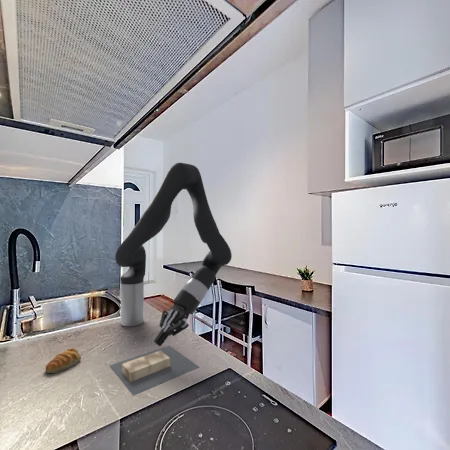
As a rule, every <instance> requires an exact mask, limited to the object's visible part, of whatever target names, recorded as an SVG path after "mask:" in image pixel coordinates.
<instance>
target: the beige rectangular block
mask: <svg viewBox="0 0 450 450" xmlns="http://www.w3.org/2000/svg"><path fill="white" fill-rule="evenodd" d="M167 367H170V358H169V357H168V356H167V355H166V354H164V353H163V352H162V351H158V352H155V353H152V354H149V355H146V356H143V357H140V358H137V359H134V360H131V361H128V362H126V363H123V364H122V373H123V374H124V375H125V377H126V378H127V379H128V380H129V381H130V382H132V381H134V380H137V379H139V378H142V377H144V376H147V375H149V374H152V373H154V372H157V371H159V370H162V369H164V368H167Z"/></svg>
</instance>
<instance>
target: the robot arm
mask: <svg viewBox="0 0 450 450" xmlns="http://www.w3.org/2000/svg"><path fill="white" fill-rule="evenodd" d="M183 190H186V191H187V193H188V195H189V196H190V199H191V202H192V209H193V221H194V225H195V228H196V231H197V232H198V235H199V237H200V240H201V241H202V243H204V244H206V245H207V247H208V249H209V251H208V252H207V254H206V255H205V256H204V258H203V260H202V261H201V264H200V265H199V267H198V268H196V270H195V272H194V273H193V274H192V276H191V278H190V279H189V280H188V281H187V282H186V283H185V284H184V286H183V287H182V289H181V290H180V291H179V292H178V293H177V295H176V296H175V298H174V299H173V302H174V304H173V305H172V306H171V307H170V309H169V310H166V309H164V310H163V311H162V313H161V316H160V317H161V318H160V321H159V327H160V331H159V333H158V334H157V335H156V337H155V338H154V340H153V342H154V343H155V345H157V346H158V347H162V345H163V344H164V343H165V341H166V340H167V339H168V337H170V336H173V337H174V336H176V335H178V334H180V333H181V332H182V331H184V330H186V329H187V328H188V327H189V325H190V324H189V323H188V319H189V316H190V315H193V314H194V313H195V311H196V310H197V309H198V307H199V306H200V305H201V303H202V301H203V300H204V298H205V297H206V295H207V293H208V291H209V290H210V288H211V287H212V286H213V284H214V282H215V280H216V277H217V276H216V275H217V274H218V272H219V271H220V270H221V268H222V267H224V266H227V265H228V264H230V262H231V261H232V257H233V256H232V250H231V247H230V245H228V243H227V241H226V239H225V238H224V237H223V236H222V234H221V233H220V230H219V227H218V225H217V222H216V220H215V218H214V216H213V214H212V210H211V208H210V205H209V202H208V199H207V194H206V190H205V186H204V182H203V178H202V175H201V172H200V170H199V169H198V167H197V166H196V165H193V164H189V163H185V162H176V163H174V164H173V165H171V167H170V168H169V170H168V171H167V172H166V174H165V177H164V179H163V180H162V183H161V185H160V187H159V188H158V190H157V192H156V194H155V195H154V197H152V200H151V202H150V203H149V205H148V206H147V207H146V209H145V210H144V212H143V213H142V215H141V216H140V218H139V220H138V222H136V224H135V225H134V227H133V229H132V230H131V232H130V233H129V235H128V236H126V238H125V239H124V241H122V243H121V244H120V245H119V247H118V248H117V250H116V252H115V256H114V257H115V259H114V260H115V262H116V264H117V266H119V267H121V268H128V269H127V271H125V272H124V273H123V274H122V275H121V276H120V281H119V283H120V325H121V326H123V327H136V326H139V325H142V324H143V323H144V321H145V316H144V315H145V305H144V304H145V303H144V302H145V298H144V297H145V296H144V294H145V291H144V285H145V284H144V279H145V275H146V269H147V268H146V267H147V266H146V264H147V256H146V255H147V253H146V249H145V246H144V244H146V242H149V241H150V240H151V239H153V238H154V237H155V236H157V235H158V234H159V233H160V232H161V231H162V230H163V228H164V227H165V226H166V224H167V223H168V222H169V219H170V217H171V212H172V205H173V202H174V201H175V199H176V198H177V196H179V194H180V193H181V191H183Z"/></svg>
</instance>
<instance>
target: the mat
mask: <svg viewBox="0 0 450 450" xmlns="http://www.w3.org/2000/svg"><path fill="white" fill-rule="evenodd" d="M158 351H162V352H163V353H164V354H166V355H167V356H168V357H169V358H170V367H167V368H164V369H162V370H159V371H157V372H154V373H152V374H149V375H147V376H144V377H142V378H139V379H137V380H134V381H132V382H130V381H129V380H128V379H127V378H126V377H125V375H124V374H123V373H122V364H123V363H126V362H128V361H131V360H134V359H137V358H140V357H143V356H146V355H149V354H152V353H155V352H158ZM109 367H110V369H111V370H112V371H113V373H114V374H115V375H116V376H117V377H118V378H119V380H120V381H121V382H122V384H123V385H124V386H125V388H127V390H128V391H129V392H130V393H131V395H132V396H136V395H138V394H141V393H143V392H145V391H147V390H150V389H153V388H155V387H157V386H159V385H162V384H163V383H167V382H169V381H171V380H173V379H176V378H178V377H180V376H182V375H185V374H187V373H189V372H192V371H195V370H197V369H199V368H200V366H199V365H197V364H196V363H195V362H193V360H191V359H189V358H188V357H186V356H185V355H184V354H182V353H181V352H179V351H178V350H176V349H175V348H174V347H172V346H171V345H166V346H163V347H161V348H160V347H159V348H158V349H154V350H152V351H149V352H146V353H142V354H140V355H139V354H138V355H137V356H134V357H131V358H128V359H125V360H122V361H120V362H119V361H118V362H117V363H114V364H110V365H109Z"/></svg>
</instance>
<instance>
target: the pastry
mask: <svg viewBox="0 0 450 450" xmlns="http://www.w3.org/2000/svg"><path fill="white" fill-rule="evenodd" d="M81 360H82V355H81V354H80V352H79V351H78V349H76V348H74V347H72V348H67V349H65V350H64V351H62V352H60V353H58V354H56V355H55V356H54V357H53V358H52V359H51V360H50V361H49V362H48V363H47V364H46V366H45V373H48V374H56V373H59V372H62V371H65V370H68V369H69V368H70V367H73V366H74V365H76V364H77V363H79V362H80V361H81Z"/></svg>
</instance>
